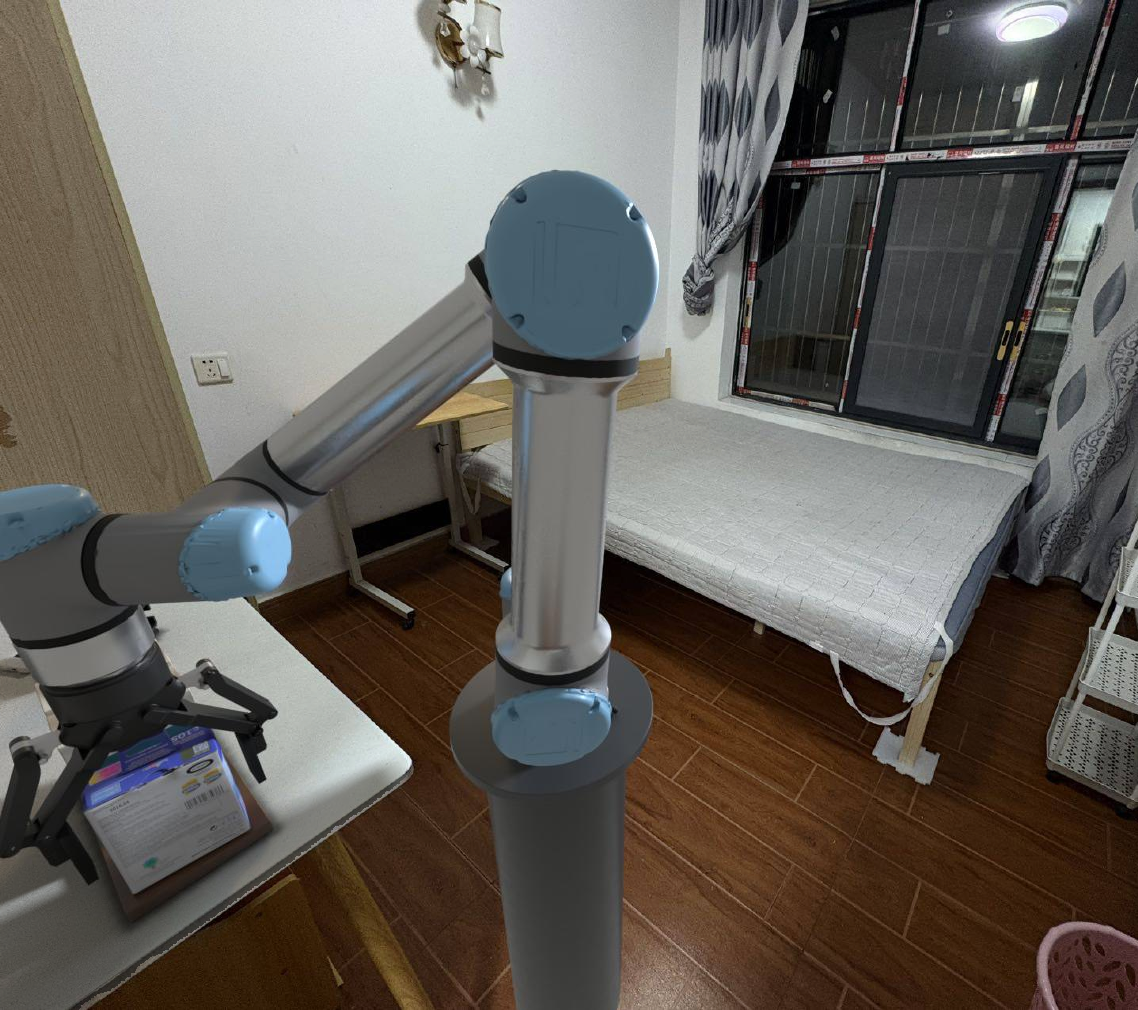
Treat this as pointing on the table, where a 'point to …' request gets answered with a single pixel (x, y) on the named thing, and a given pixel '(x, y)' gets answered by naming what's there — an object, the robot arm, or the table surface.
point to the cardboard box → (193, 871)
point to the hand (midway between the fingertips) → (181, 819)
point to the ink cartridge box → (165, 806)
